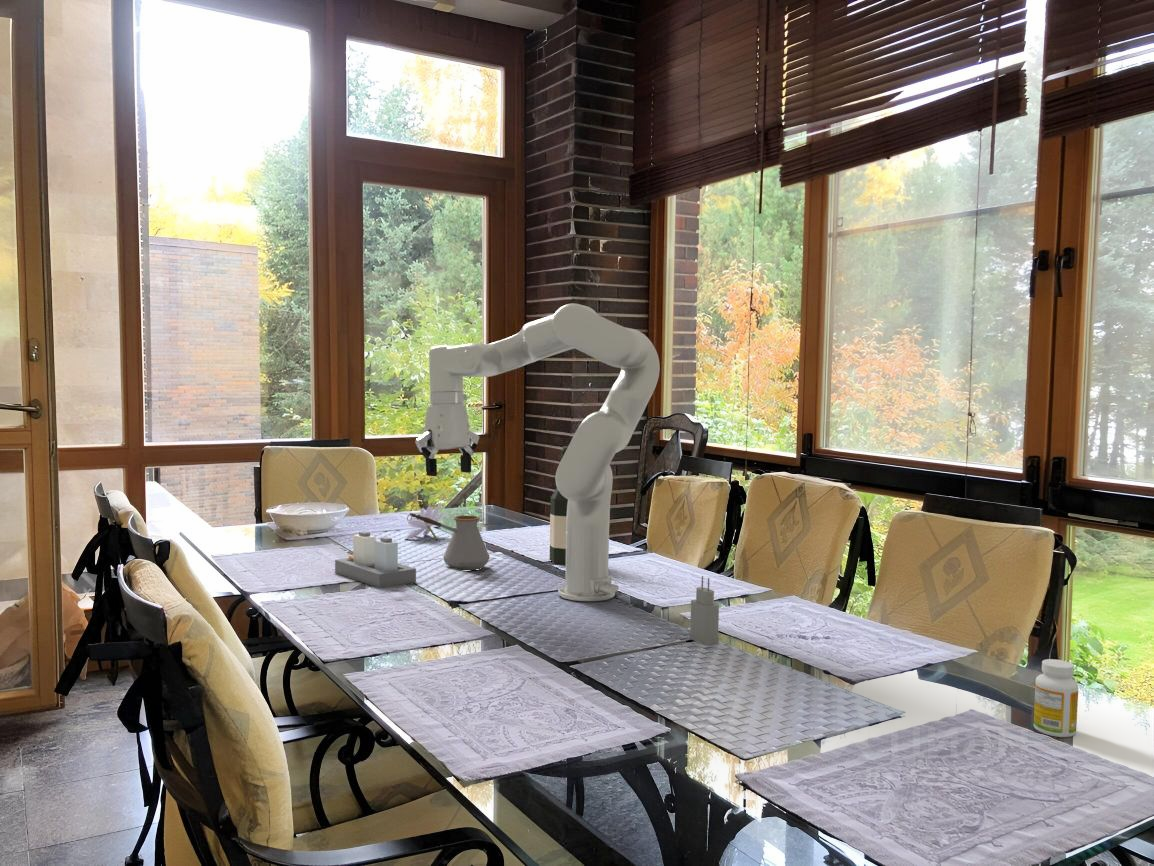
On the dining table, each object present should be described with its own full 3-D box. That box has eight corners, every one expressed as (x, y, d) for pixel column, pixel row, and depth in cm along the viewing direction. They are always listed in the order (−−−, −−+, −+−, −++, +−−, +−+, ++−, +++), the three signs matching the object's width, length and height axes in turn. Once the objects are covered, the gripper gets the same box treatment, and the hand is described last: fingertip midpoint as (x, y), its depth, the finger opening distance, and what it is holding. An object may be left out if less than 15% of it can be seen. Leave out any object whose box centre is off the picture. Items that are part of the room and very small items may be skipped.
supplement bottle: (1062, 723, 133) (1066, 657, 132) (1084, 738, 127) (1088, 669, 127) (1025, 723, 133) (1029, 657, 132) (1046, 738, 127) (1049, 669, 127)
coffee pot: (476, 562, 238) (477, 504, 237) (497, 570, 228) (498, 510, 227) (398, 570, 226) (398, 510, 225) (416, 579, 217) (417, 516, 216)
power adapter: (706, 645, 168) (708, 580, 167) (688, 638, 173) (689, 574, 172) (719, 643, 169) (721, 579, 169) (701, 635, 174) (703, 573, 173)
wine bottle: (581, 565, 236) (583, 448, 234) (548, 564, 236) (550, 448, 234) (581, 558, 244) (583, 446, 242) (550, 557, 245) (552, 445, 243)
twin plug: (375, 574, 217) (375, 533, 216) (364, 576, 215) (364, 534, 214) (364, 570, 221) (364, 530, 220) (353, 572, 219) (353, 531, 218)
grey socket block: (415, 585, 210) (416, 566, 210) (379, 592, 204) (379, 571, 204) (370, 571, 225) (370, 552, 225) (335, 576, 218) (335, 557, 218)
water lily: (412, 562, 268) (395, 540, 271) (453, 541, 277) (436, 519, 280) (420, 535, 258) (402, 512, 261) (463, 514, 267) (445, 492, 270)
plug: (397, 581, 210) (397, 539, 209) (386, 583, 208) (386, 540, 207) (386, 577, 214) (386, 535, 213) (374, 579, 212) (374, 537, 211)
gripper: (467, 398, 220) (469, 470, 221) (405, 400, 208) (408, 476, 209) (486, 398, 214) (488, 471, 215) (425, 400, 202) (427, 478, 203)
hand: (449, 474), depth 212 cm, fingers open, 9 cm apart
